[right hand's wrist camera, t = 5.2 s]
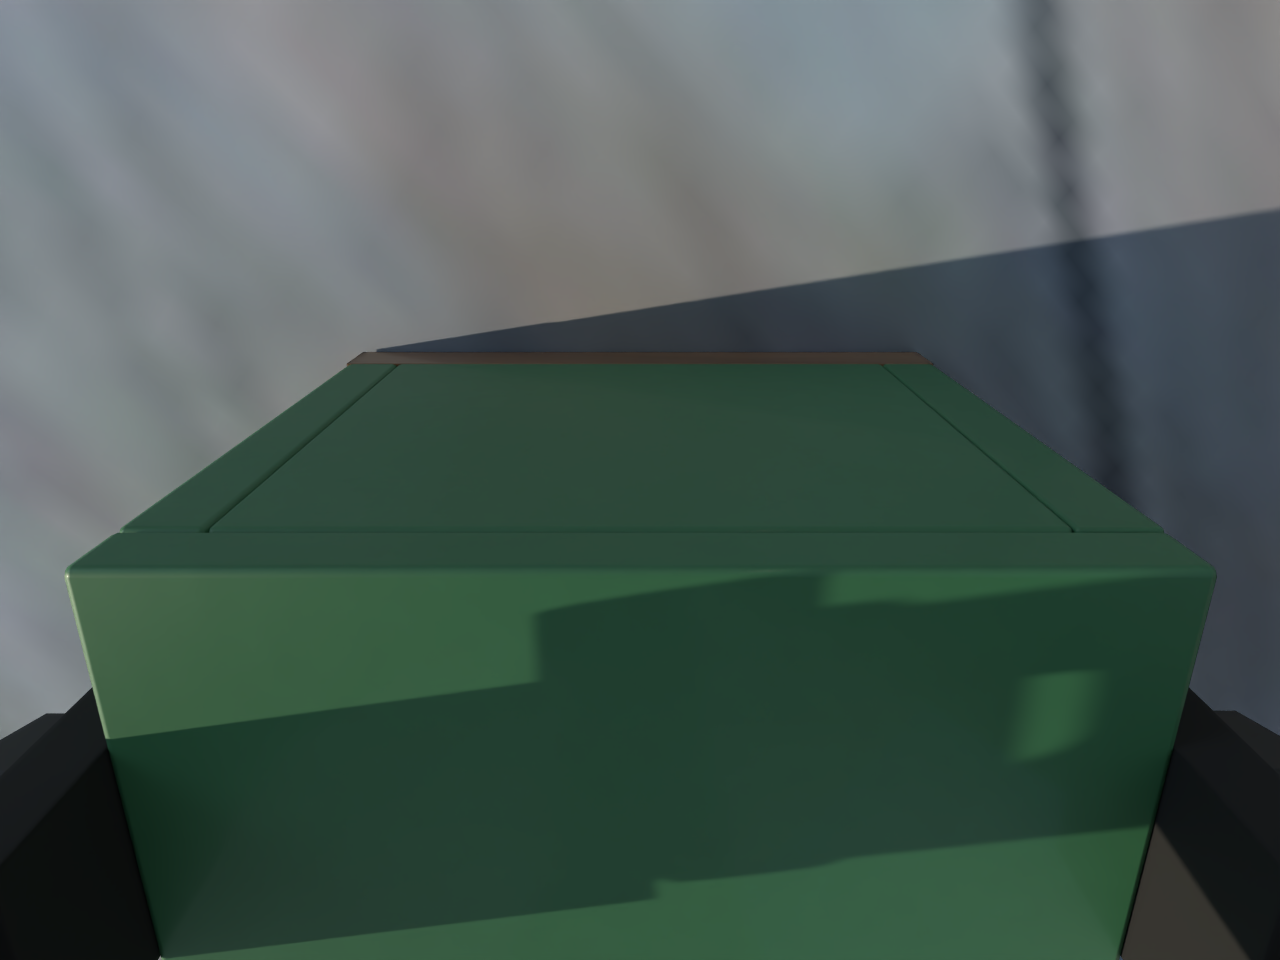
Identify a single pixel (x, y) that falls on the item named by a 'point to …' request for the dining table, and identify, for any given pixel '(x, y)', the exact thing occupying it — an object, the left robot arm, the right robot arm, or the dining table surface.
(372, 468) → the cabinet
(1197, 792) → the right robot arm
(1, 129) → the dining table surface
